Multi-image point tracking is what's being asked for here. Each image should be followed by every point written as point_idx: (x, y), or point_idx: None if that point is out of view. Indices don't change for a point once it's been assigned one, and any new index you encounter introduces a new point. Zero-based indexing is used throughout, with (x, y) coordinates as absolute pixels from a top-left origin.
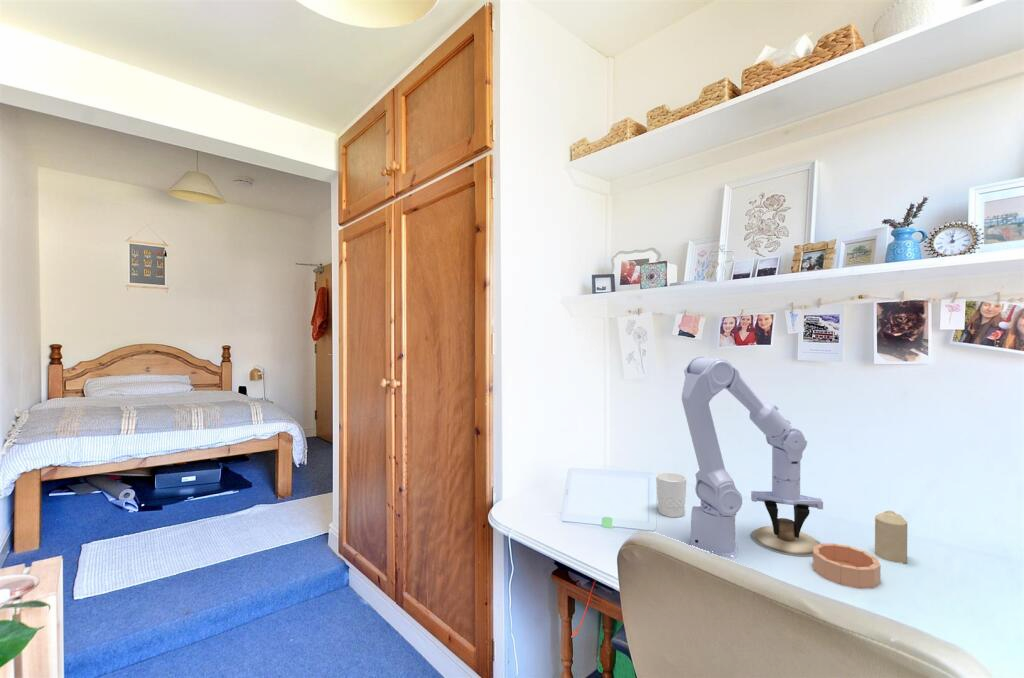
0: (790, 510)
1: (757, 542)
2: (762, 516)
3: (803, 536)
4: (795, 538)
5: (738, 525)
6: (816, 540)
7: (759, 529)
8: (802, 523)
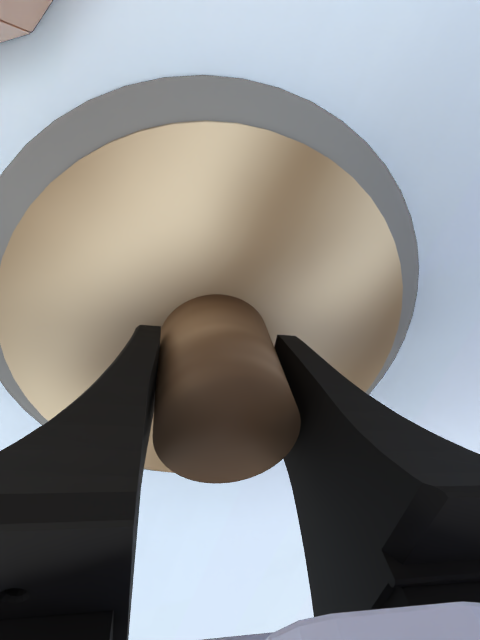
0: None
1: (402, 268)
2: (230, 558)
3: None
4: None
5: None
6: (5, 358)
7: None
8: (88, 393)
